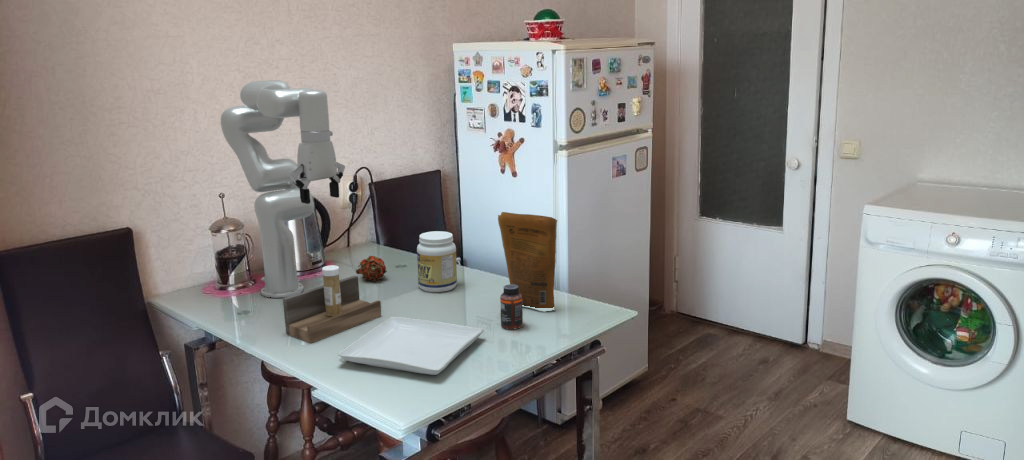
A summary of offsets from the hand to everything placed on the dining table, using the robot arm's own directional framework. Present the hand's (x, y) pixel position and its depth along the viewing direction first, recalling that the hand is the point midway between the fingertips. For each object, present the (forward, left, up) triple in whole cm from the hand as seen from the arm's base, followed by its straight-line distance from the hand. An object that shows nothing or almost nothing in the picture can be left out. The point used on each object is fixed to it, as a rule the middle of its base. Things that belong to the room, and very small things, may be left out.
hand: (320, 199), depth 199 cm
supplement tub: (+8, +36, -34) cm, 50 cm away
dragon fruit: (-15, +29, -34) cm, 47 cm away
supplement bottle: (+47, +24, -34) cm, 63 cm away
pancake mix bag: (+42, +39, -34) cm, 66 cm away
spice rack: (+8, -4, -33) cm, 34 cm away
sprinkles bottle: (+7, -4, -31) cm, 32 cm away
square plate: (+38, -4, -34) cm, 51 cm away
